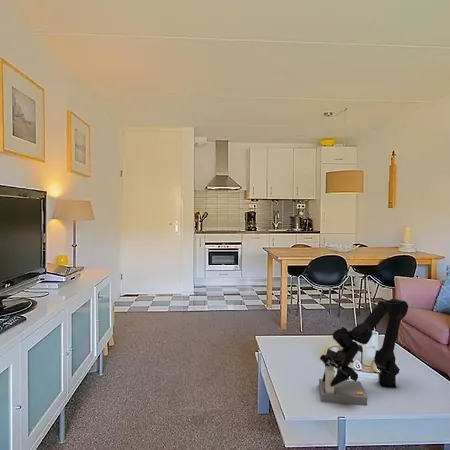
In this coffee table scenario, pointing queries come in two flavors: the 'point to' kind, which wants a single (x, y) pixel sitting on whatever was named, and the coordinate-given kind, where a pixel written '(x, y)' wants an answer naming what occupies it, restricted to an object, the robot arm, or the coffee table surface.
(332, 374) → the plug
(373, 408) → the coffee table surface
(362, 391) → the socket board
